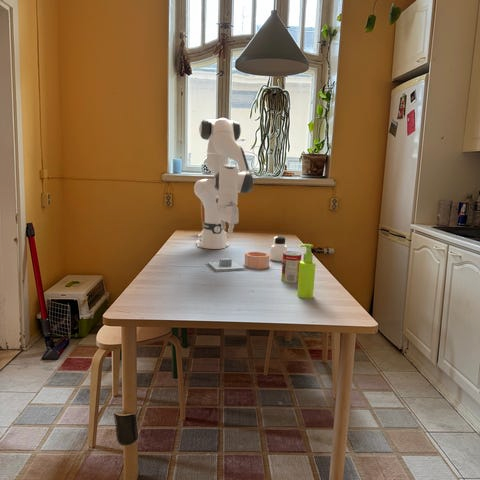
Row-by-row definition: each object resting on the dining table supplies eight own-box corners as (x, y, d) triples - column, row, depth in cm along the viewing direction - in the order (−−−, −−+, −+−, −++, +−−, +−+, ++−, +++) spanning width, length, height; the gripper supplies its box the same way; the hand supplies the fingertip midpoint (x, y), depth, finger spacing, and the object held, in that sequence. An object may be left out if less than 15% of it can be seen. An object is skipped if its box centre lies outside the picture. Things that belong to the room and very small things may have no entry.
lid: (207, 264, 193) (208, 256, 193) (233, 263, 198) (233, 255, 197) (216, 271, 181) (216, 262, 181) (243, 270, 186) (243, 261, 185)
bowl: (241, 264, 199) (242, 252, 198) (262, 263, 203) (263, 251, 201) (250, 269, 189) (251, 257, 187) (271, 268, 193) (272, 256, 191)
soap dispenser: (293, 293, 157) (296, 242, 153) (310, 293, 158) (314, 243, 154) (296, 298, 151) (300, 245, 148) (314, 298, 152) (318, 246, 148)
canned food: (297, 278, 179) (299, 251, 176) (301, 283, 171) (303, 255, 169) (280, 277, 178) (281, 250, 176) (282, 282, 171) (284, 254, 168)
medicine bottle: (286, 258, 214) (287, 236, 212) (283, 261, 207) (284, 238, 205) (273, 257, 216) (274, 235, 214) (269, 260, 210) (271, 237, 207)
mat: (204, 264, 194) (204, 263, 194) (235, 263, 200) (235, 262, 200) (214, 273, 180) (214, 272, 180) (247, 271, 185) (247, 270, 185)
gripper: (242, 203, 176) (241, 234, 178) (227, 198, 194) (226, 227, 197) (229, 203, 173) (228, 234, 176) (214, 198, 192) (213, 227, 194)
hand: (226, 230), depth 186 cm, fingers open, 8 cm apart
